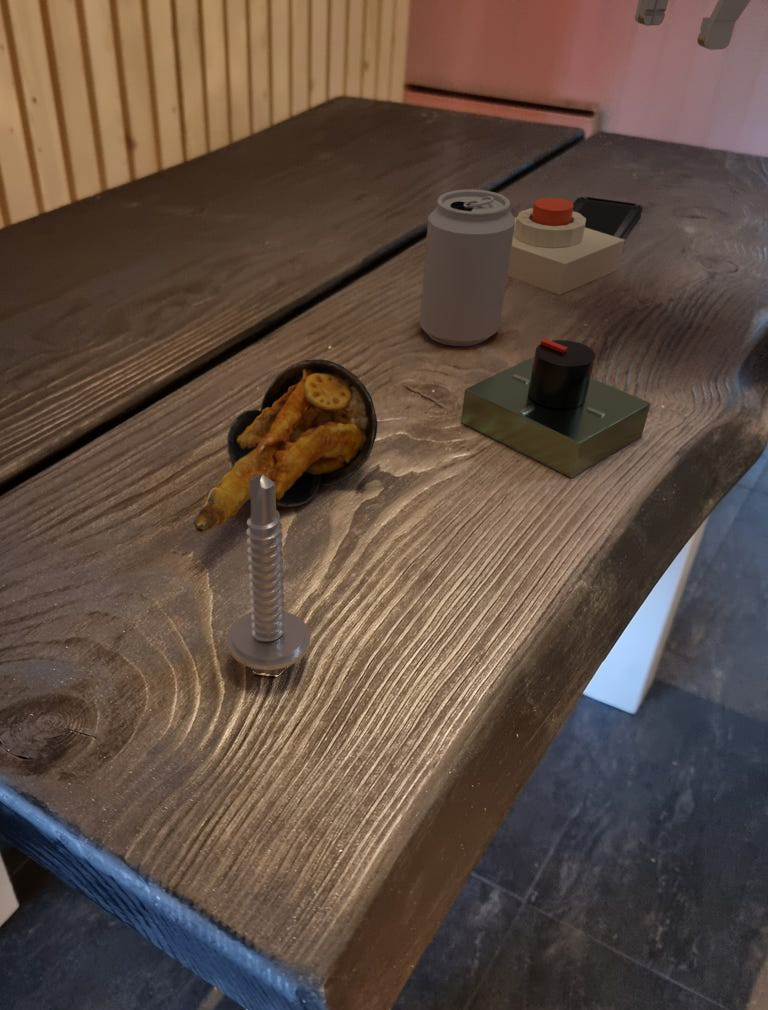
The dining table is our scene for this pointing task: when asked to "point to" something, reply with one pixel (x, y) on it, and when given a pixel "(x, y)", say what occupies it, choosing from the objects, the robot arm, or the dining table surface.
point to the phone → (608, 215)
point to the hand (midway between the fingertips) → (678, 35)
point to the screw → (266, 594)
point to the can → (466, 266)
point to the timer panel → (554, 420)
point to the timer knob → (561, 373)
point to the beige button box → (561, 253)
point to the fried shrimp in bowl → (296, 439)
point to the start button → (552, 211)
